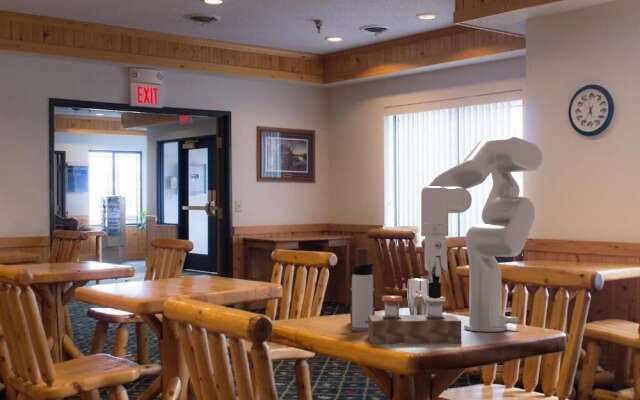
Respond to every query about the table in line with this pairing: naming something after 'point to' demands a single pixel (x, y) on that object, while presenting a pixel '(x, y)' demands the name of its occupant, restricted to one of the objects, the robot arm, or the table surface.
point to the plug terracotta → (391, 306)
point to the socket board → (414, 329)
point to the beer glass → (417, 296)
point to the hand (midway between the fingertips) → (434, 297)
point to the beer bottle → (361, 260)
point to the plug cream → (435, 307)
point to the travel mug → (362, 296)
